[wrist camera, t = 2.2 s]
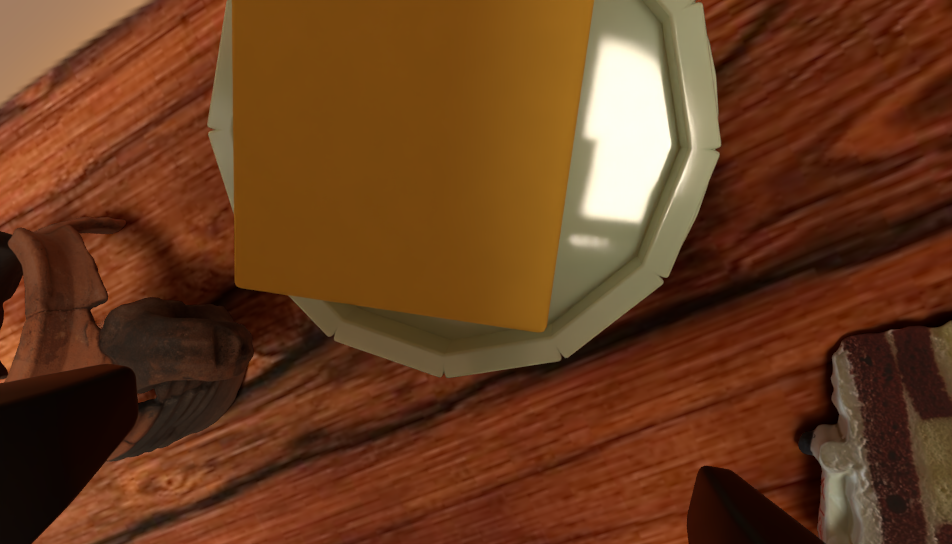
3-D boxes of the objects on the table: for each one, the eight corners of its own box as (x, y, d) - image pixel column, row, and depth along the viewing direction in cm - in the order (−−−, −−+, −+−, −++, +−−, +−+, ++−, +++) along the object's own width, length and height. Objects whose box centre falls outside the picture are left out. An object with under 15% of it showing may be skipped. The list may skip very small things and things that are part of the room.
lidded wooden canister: (501, 300, 22) (441, 472, 11) (338, 124, 21) (104, 125, 10) (694, 137, 20) (857, 155, 9) (519, -70, 19) (457, -332, 8)
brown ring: (128, 452, 27) (-107, 477, 20) (142, 258, 29) (-66, 218, 22) (323, 449, 22) (98, 482, 15) (323, 212, 24) (126, 139, 17)
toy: (552, 259, 11) (545, 336, 7) (346, 231, 11) (231, 289, 7) (584, 29, 10) (599, -34, 6) (355, 9, 10) (228, -62, 6)
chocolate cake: (772, 285, 21) (831, 689, 15) (1030, 255, 17) (1233, 758, 12) (790, 374, 28) (835, 671, 22) (976, 365, 25) (1086, 712, 19)
